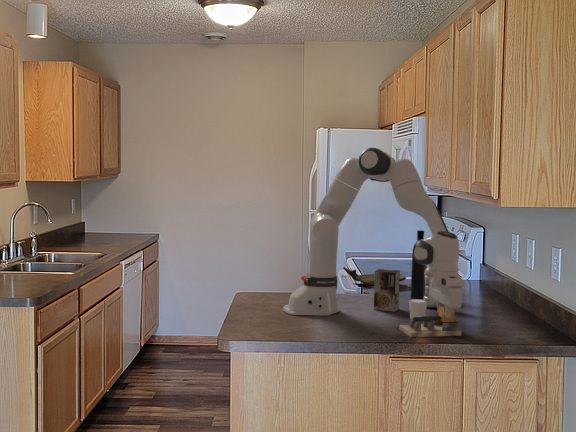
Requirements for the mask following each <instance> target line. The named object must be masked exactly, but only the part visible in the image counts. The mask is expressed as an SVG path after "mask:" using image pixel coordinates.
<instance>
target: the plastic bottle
mask: <svg viewBox="0 0 576 432" xmlns="http://www.w3.org/2000/svg"><path fill="white" fill-rule="evenodd" d="M424 276H425V294H424V298H423V299H422V300H425V301H427V306H426V308H430V309H438V308H437V304H436V300H434V299H432V298H430V296H429V286H430V280H431V279H432V277H433V265H427V268H426V269H425V272H424Z"/></svg>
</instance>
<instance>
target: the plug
mask: <svg viewBox="0 0 576 432" xmlns="http://www.w3.org/2000/svg"><path fill="white" fill-rule="evenodd" d="M445 310H446V308H445V305H443V306H439V313H438V315H425V316H417V317H413V319H412V320H413V321H414V322H416V323H421V322H423V321H429V322H433V321H440V320H441V321H442V322H454V320H455V309H452V311H451V313H450V318H446V317H444V312H445Z"/></svg>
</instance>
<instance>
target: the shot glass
mask: <svg viewBox="0 0 576 432" xmlns="http://www.w3.org/2000/svg"><path fill="white" fill-rule="evenodd" d="M408 305H409V306H408V308H409V319H410V320H413V317H417V316H426V314H427V307H426V306H427V301H425V300H423V299H414V298H410V299H408Z"/></svg>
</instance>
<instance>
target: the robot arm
mask: <svg viewBox="0 0 576 432" xmlns="http://www.w3.org/2000/svg"><path fill="white" fill-rule="evenodd" d="M345 160H346V161H345V162H343V164H342V165H341V167H339V169H338V171H337V173H336V174H335V175H334V176H335V177H334V178H333V180H332V182H331V184H330V185H329V187H328V189H327V191H326V193H325V195H324V197H323V199H322V200H321V201H320V204H319V205H318V206H317V209H316V210H315V212H314V213H313V216H312V217H311V219H310V222H309V233H310V234H309V250H308V251H309V252H308V253H309V256H308V275H305V274H302V275H300V279H301V281H303V284H302V285H301V286H299V288H297V289H296V290H294V291H293V292H292V293H291V294H290V295H289V300H288V304H285V305H284V306H283V308H282V310H283V311H284V313H286V314H288V315H292V316H325V317H326V316H330V315H333V314H337V313H338V312H340V308H339V302H338V297H337V290H338V275H337V261H338V244H339V226H340V225H341V223H342V221H343V220H344V218H345V216H346V215H347V214H348V212H349V210H350V209H351V207H352V205H353V203H354V201H355V199H356V197H357V195H358V194H359V192H360V191H361V188H362V186H363V184H364V182H365V181H367V180H368V179H369V180H370V181H372V182H373V181H375V182H381V183H387V182H390V184H391V185H390V186H391V188H392V191H393V196H394V197H395V200H396V202H397V204H398V205H399V207H401V208H402V209H403V210H406V211H408V212H412V213H414V214H416V215H418V216H420V217H421V218H423V220H424V221H425V222H426V224H427V227H428V228H429V230H430V232H431V234H432V235H431V236H430V237H426V238H424V239H421V240H418V241H417V240H416V242H415V243H414V245H413V247H412V254H413V257H414V259H415V261H416V262H417V263H418V264H421V265H427V266H429V265H433V277H432V279H431V280H430V286H429V296H430V298H432V299H434V300H436V304H437V308H436V309H437V313H438V314H439V306H445V308H446V310H445V312H444V317H446V318H450V313H451V311H452V309H454V310H455V309H456V310H457V309H458V310H459V309H461V307H462V305H463V295H464V293H463V287H464V286H465V281H464V279H463V278H462V277H461V275H460V274H459V265H458V262H459V258H460V243H459V238H458V235H457V234H455V233H453V232H450V231H449V229H448V227H447V225H446V222H445V221H444V218H443V216H442V214H441V212H440V210H439V209H438V206H437V204H436V202H434V200H433V199H432V198H431V197H430V196H429V194H428V193H427V191H426V189H425V188H424V185H423V182H422V180H421V178H420V175H419V173H418V171H417V168H416V166H415V165H414V164H413V162H412V161H411V160H410V159H408V158H400V159H397V160H396V159H395V158H394V157H392V156H391V155H390V154H388V153H387V152H385V151H383V150H381V149H380V148H377V147H368V148H365V149H364V150H363V151H362V152H361V153H360V154H359V157H358V158H357V157H349V158H347V159H345Z"/></svg>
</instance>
